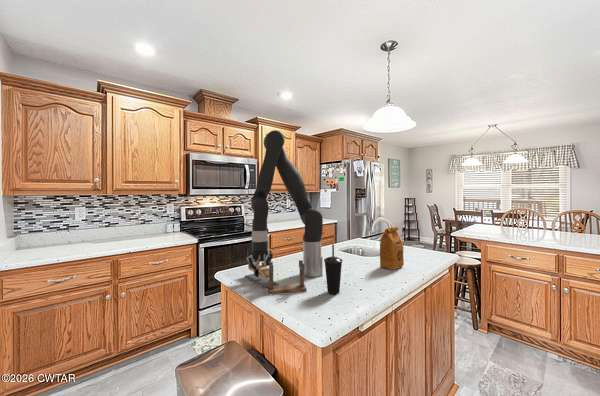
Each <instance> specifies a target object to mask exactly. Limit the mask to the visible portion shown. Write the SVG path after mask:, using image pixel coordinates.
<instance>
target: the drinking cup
mask: <svg viewBox="0 0 600 396" xmlns="http://www.w3.org/2000/svg"><path fill="white" fill-rule="evenodd" d="M331 247H332V249H331V250H332V251H331V254H332V256H328V257H326V258H324V260H323V261H324V266H325V279H326V286H327V287H326V288H327V293H328V294H329V295H333V296H334V295H338V294H340V290H341V289H340V287H341V278H342V277H341V275H342V264H343V261H344V260H343V259H342V258H340V257H338V256H335V245H334V244H331Z"/></svg>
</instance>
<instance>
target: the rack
mask: <svg viewBox="0 0 600 396" xmlns="http://www.w3.org/2000/svg"><path fill="white" fill-rule="evenodd" d="M298 268H299V284H289V285H288V284H287V285H275V286H273V281H274V263H273V261H271V262H269V266H268V269H269V278H268V279H269V287H268V288H267V295H268V296H270V294H272V295H284V294H296V293H297V294H298V293H307V287H306V284H305V275H304V271H305V264H304V263H303V259H302V260H300V259H299V260H298Z"/></svg>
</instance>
